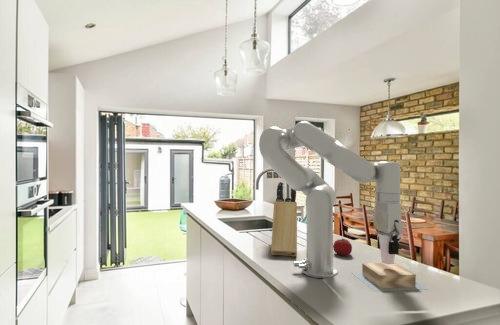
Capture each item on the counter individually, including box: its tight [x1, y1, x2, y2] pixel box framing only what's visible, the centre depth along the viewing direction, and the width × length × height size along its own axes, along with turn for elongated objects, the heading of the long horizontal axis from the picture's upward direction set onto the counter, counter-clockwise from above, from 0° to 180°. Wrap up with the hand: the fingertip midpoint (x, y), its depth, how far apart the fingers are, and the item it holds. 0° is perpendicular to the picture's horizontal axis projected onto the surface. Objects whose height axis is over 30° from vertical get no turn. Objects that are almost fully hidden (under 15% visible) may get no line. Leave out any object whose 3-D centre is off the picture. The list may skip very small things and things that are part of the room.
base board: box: [351, 272, 428, 292], centre depth 104 cm, size 18×16×1 cm
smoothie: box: [377, 232, 396, 264], centre depth 104 cm, size 6×6×14 cm
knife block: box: [270, 181, 298, 257], centre depth 147 cm, size 11×35×31 cm, turn 172°
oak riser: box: [361, 262, 417, 288], centre depth 104 cm, size 12×12×4 cm
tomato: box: [333, 238, 353, 257], centre depth 137 cm, size 8×8×7 cm
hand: (387, 250), depth 104 cm, fingers closed on smoothie, 6 cm apart
